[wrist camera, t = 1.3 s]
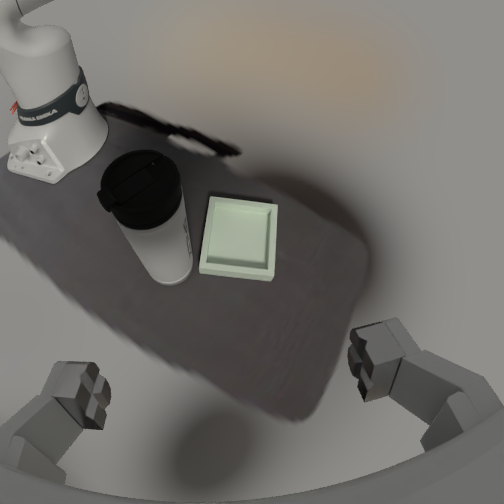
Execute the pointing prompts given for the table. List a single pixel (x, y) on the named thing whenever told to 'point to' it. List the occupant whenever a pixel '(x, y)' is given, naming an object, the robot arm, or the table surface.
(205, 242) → the tray
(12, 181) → the table surface
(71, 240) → the table surface
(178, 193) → the travel mug
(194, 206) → the table surface
